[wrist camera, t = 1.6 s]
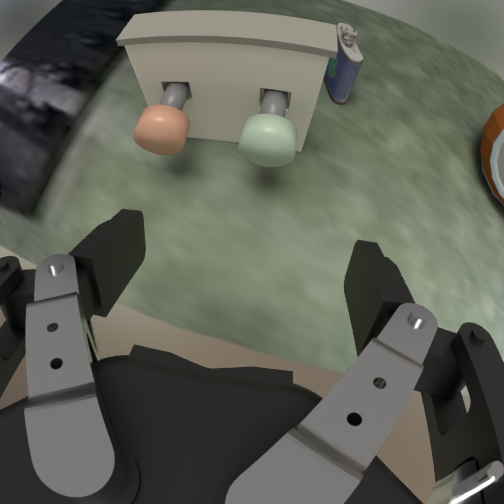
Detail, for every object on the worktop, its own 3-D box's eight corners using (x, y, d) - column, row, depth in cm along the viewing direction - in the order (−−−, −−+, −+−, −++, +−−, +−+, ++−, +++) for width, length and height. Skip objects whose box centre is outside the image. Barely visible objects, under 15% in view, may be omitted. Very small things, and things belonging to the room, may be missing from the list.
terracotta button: (141, 153, 29) (126, 125, 24) (165, 92, 31) (155, 62, 26) (187, 157, 29) (178, 127, 24) (207, 94, 31) (202, 62, 26)
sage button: (238, 162, 29) (237, 133, 24) (252, 98, 30) (253, 66, 26) (290, 170, 28) (298, 142, 24) (298, 105, 30) (304, 73, 26)
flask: (348, 105, 38) (370, 52, 28) (328, 103, 38) (346, 48, 28) (338, 64, 41) (353, 14, 30) (320, 62, 40) (333, 10, 30)
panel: (156, 136, 37) (116, 40, 20) (166, 111, 38) (134, 14, 21) (305, 154, 36) (337, 52, 20) (307, 126, 37) (336, 25, 21)
